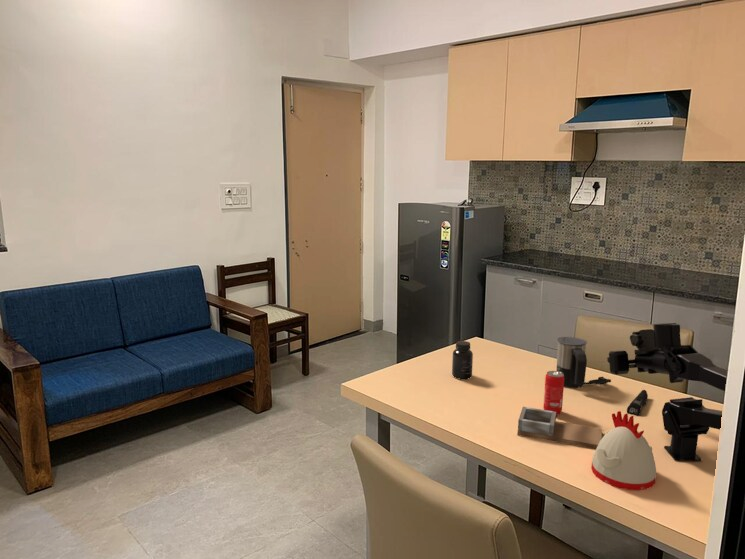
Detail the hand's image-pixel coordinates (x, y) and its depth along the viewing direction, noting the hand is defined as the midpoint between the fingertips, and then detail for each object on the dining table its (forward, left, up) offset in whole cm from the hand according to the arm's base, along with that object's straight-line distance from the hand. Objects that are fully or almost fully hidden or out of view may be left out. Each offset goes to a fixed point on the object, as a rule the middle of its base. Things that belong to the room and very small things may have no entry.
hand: (621, 358), depth 163 cm
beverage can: (-2, +19, -17) cm, 25 cm away
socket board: (-16, +20, -17) cm, 30 cm away
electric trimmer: (+5, -8, -17) cm, 19 cm away
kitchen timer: (-35, +10, -17) cm, 40 cm away
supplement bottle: (+24, +43, -17) cm, 52 cm away
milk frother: (+20, +4, -17) cm, 27 cm away
